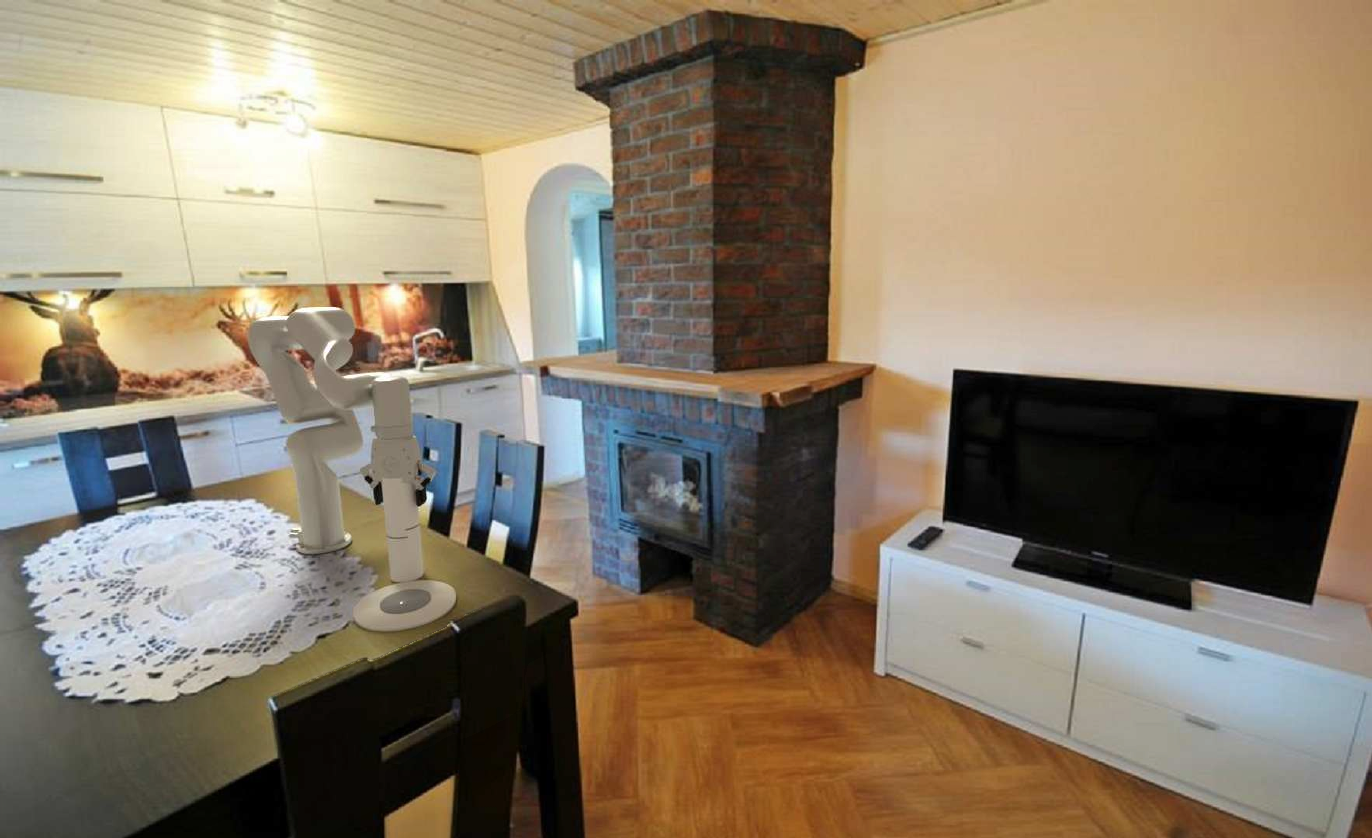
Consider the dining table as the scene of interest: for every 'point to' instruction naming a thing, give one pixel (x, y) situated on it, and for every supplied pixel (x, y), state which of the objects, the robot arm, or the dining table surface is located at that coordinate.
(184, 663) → the dining table surface
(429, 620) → the plate
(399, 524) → the cylindrical container
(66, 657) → the dining table surface
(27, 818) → the dining table surface
